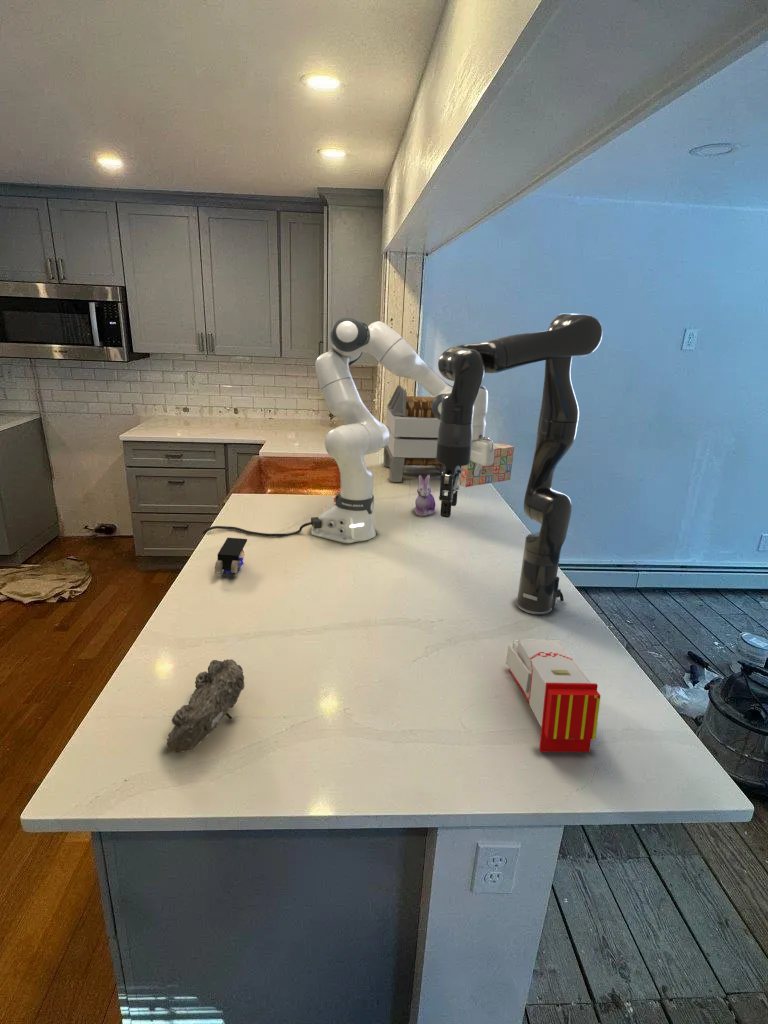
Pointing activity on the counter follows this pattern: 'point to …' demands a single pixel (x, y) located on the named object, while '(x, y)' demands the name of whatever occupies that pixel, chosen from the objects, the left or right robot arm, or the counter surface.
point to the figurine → (424, 498)
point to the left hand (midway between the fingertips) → (467, 472)
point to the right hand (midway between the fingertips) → (448, 510)
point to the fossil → (206, 705)
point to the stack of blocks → (490, 468)
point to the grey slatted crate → (410, 433)
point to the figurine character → (230, 556)
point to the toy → (556, 694)
